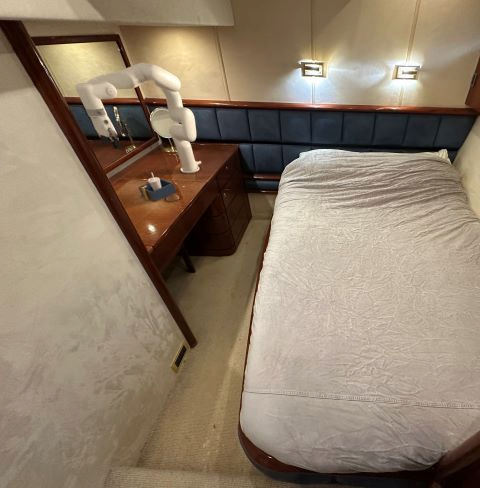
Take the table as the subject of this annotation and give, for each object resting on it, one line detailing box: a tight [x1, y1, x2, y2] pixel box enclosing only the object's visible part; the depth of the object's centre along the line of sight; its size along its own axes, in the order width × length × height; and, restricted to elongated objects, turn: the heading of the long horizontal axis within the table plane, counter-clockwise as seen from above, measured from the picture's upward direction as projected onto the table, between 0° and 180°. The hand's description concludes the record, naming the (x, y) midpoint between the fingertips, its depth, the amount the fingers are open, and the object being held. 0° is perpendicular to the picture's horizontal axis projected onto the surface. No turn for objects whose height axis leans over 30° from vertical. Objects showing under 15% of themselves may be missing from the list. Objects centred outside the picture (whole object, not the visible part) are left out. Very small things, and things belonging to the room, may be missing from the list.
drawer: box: [137, 178, 177, 202], centre depth 161 cm, size 16×12×8 cm
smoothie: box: [147, 171, 161, 191], centre depth 160 cm, size 6×6×14 cm
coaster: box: [165, 194, 180, 203], centre depth 161 cm, size 8×8×1 cm
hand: (112, 146), depth 142 cm, fingers open, 9 cm apart
